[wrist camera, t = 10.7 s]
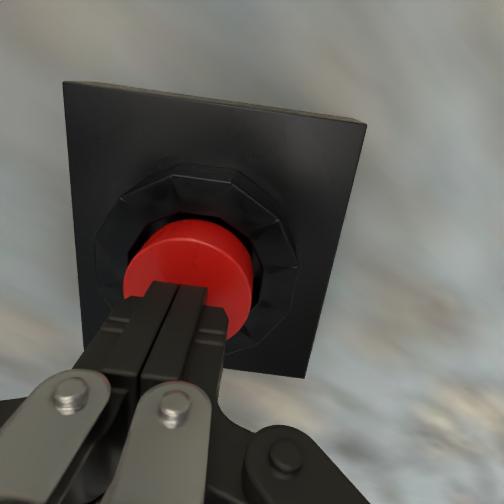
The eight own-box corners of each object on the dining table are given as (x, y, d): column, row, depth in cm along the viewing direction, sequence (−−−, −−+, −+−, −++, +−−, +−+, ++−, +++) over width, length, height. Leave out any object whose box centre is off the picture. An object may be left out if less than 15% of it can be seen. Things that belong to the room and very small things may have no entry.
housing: (300, 347, 18) (308, 412, 15) (103, 321, 18) (62, 380, 15) (354, 118, 14) (383, 130, 10) (91, 81, 14) (27, 80, 10)
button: (246, 325, 14) (243, 357, 12) (140, 311, 14) (123, 341, 12) (261, 226, 12) (260, 248, 10) (140, 210, 12) (120, 229, 10)
